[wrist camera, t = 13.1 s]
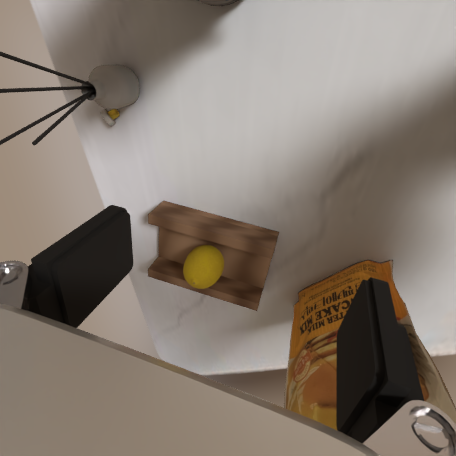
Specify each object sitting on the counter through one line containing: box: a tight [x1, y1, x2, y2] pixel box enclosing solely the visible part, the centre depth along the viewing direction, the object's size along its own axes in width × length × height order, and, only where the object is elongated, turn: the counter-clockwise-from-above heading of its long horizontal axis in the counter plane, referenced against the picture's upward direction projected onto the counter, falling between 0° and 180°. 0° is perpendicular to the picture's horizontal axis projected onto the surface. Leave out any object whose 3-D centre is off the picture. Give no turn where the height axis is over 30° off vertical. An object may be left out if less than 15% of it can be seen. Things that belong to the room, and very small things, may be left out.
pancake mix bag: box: [284, 260, 456, 431], centre depth 33 cm, size 7×19×28 cm, turn 134°
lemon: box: [183, 245, 224, 289], centre depth 43 cm, size 6×6×8 cm
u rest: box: [148, 201, 279, 311], centre depth 45 cm, size 18×12×5 cm, turn 81°
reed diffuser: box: [0, 52, 140, 145], centre depth 30 cm, size 10×7×20 cm
